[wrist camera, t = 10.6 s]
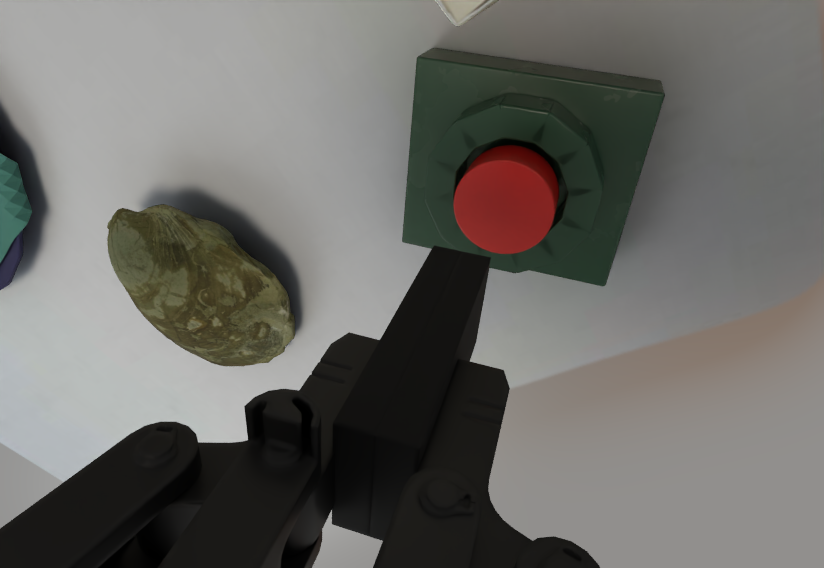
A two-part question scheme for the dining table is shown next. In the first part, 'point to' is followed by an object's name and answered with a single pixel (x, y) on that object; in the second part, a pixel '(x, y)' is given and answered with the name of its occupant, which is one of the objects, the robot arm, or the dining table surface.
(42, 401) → the dining table surface
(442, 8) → the cosmetic box
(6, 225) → the cutlery set
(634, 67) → the dining table surface
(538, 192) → the button
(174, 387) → the dining table surface
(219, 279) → the seashell
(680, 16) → the dining table surface
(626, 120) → the button box
